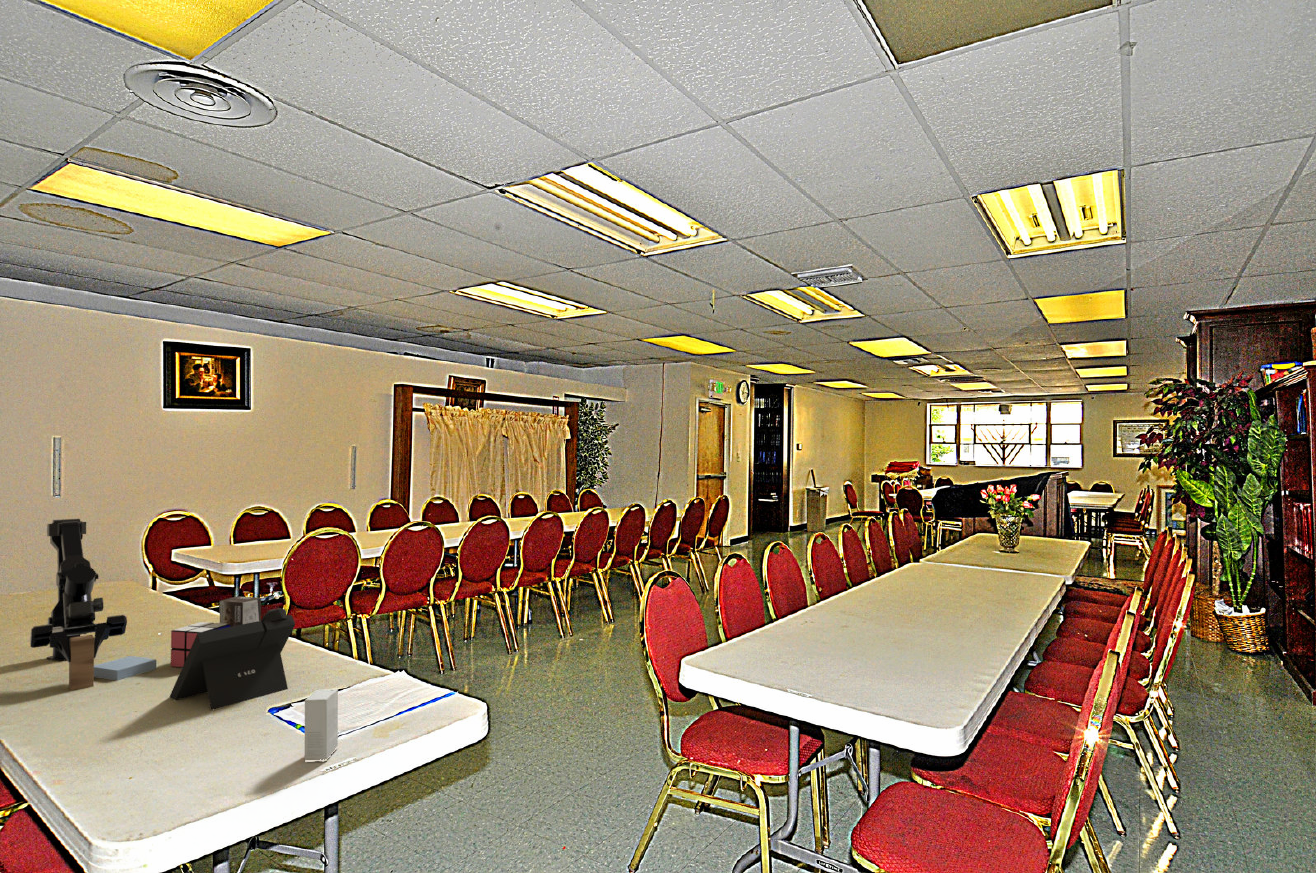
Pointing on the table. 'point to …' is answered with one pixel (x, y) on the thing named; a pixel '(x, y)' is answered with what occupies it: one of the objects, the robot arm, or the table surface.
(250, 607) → the coffee box
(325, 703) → the skincare box
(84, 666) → the walnut post
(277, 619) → the office phone
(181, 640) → the puzzle cube
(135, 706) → the table surface
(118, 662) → the blue block
